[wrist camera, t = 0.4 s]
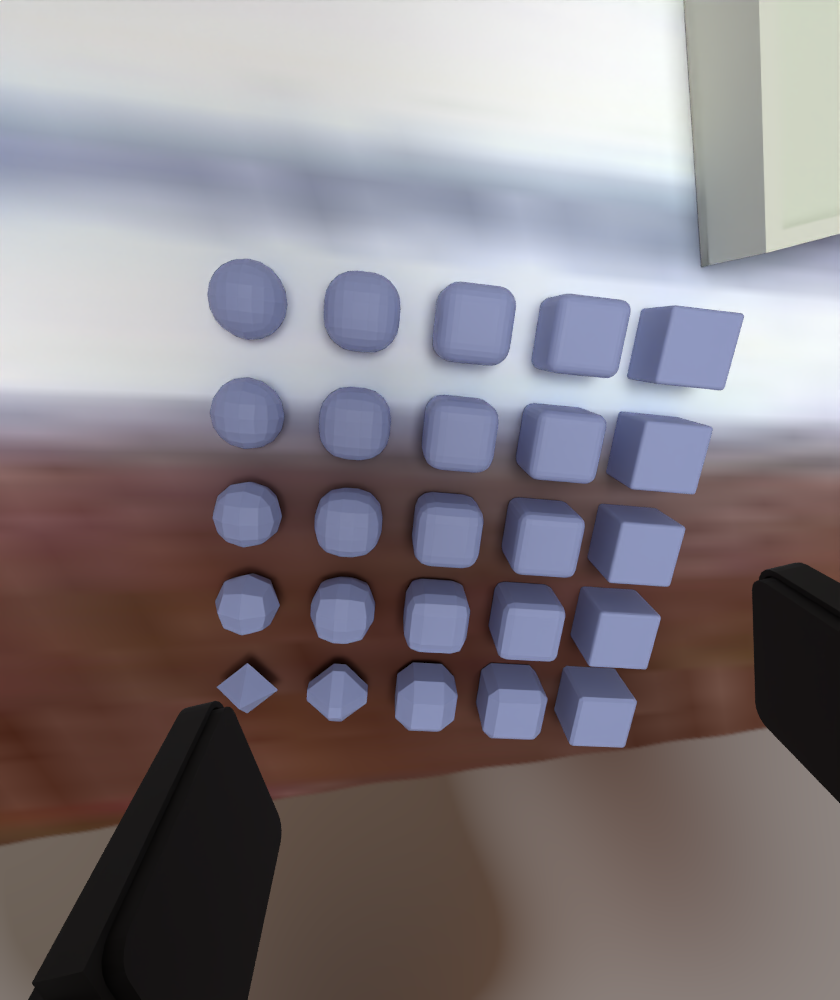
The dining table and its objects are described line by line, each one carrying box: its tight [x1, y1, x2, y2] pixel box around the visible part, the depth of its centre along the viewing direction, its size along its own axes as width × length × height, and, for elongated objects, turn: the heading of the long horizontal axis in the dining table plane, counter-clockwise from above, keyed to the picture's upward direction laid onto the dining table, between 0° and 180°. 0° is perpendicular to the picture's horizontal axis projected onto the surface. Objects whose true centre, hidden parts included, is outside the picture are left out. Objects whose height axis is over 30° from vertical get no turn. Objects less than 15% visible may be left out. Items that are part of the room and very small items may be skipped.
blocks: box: [208, 259, 744, 747], centre depth 39 cm, size 35×34×5 cm
